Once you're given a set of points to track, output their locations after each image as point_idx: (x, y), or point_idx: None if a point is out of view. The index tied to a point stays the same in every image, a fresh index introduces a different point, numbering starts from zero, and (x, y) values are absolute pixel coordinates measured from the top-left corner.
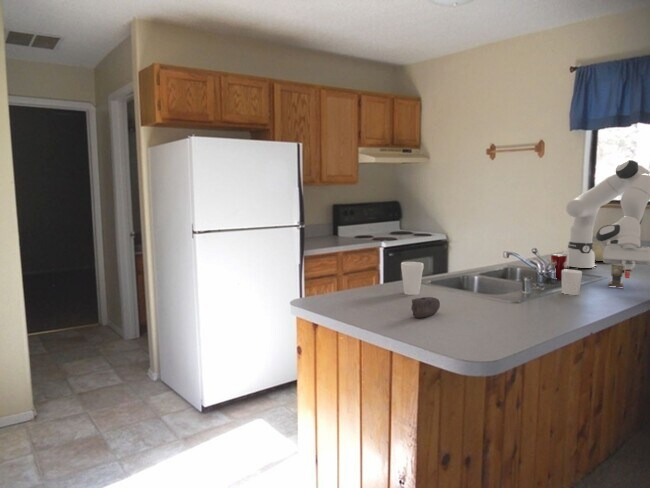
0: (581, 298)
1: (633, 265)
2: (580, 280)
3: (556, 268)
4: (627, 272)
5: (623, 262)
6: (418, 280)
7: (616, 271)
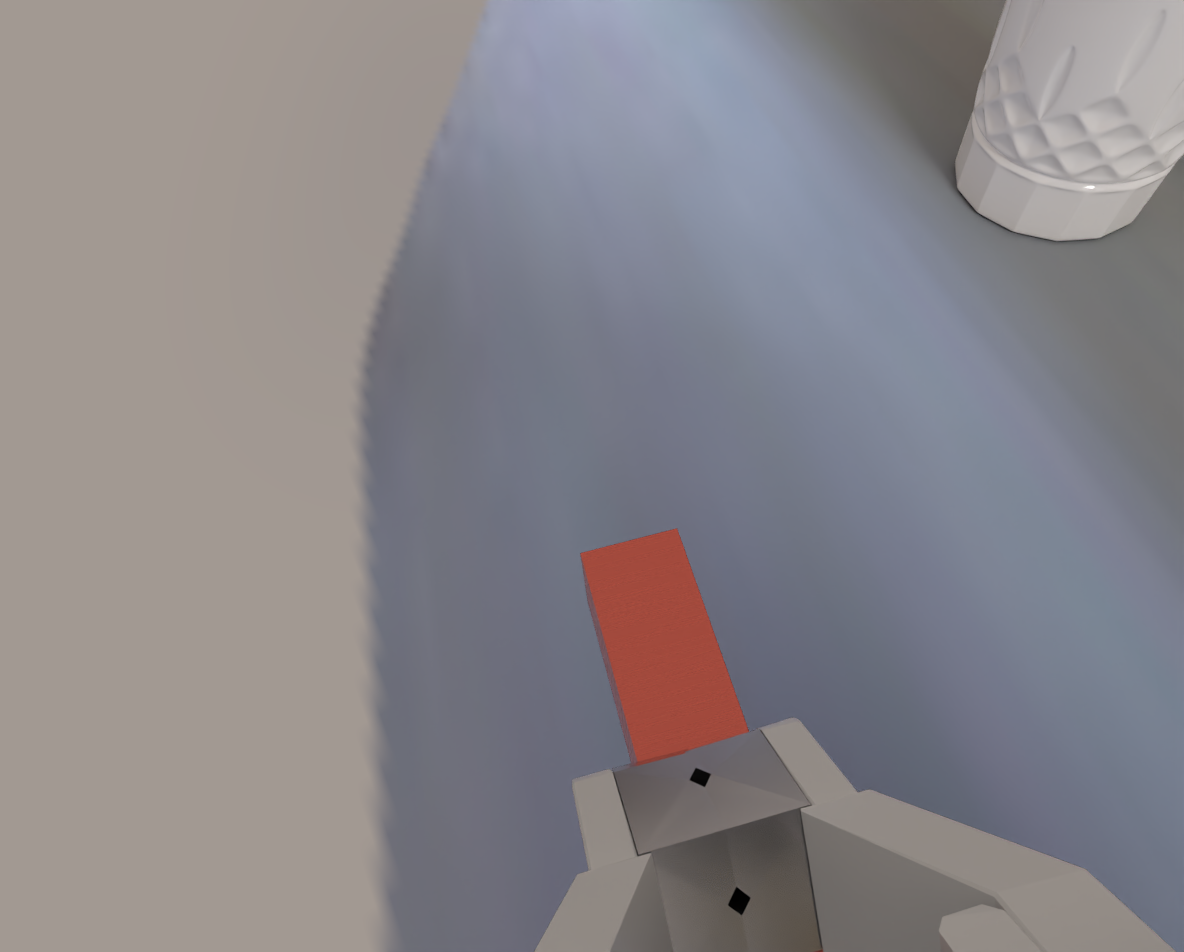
0: (855, 111)
1: (550, 941)
2: (1009, 6)
3: None
4: (669, 670)
5: (1021, 887)
6: None
7: None
